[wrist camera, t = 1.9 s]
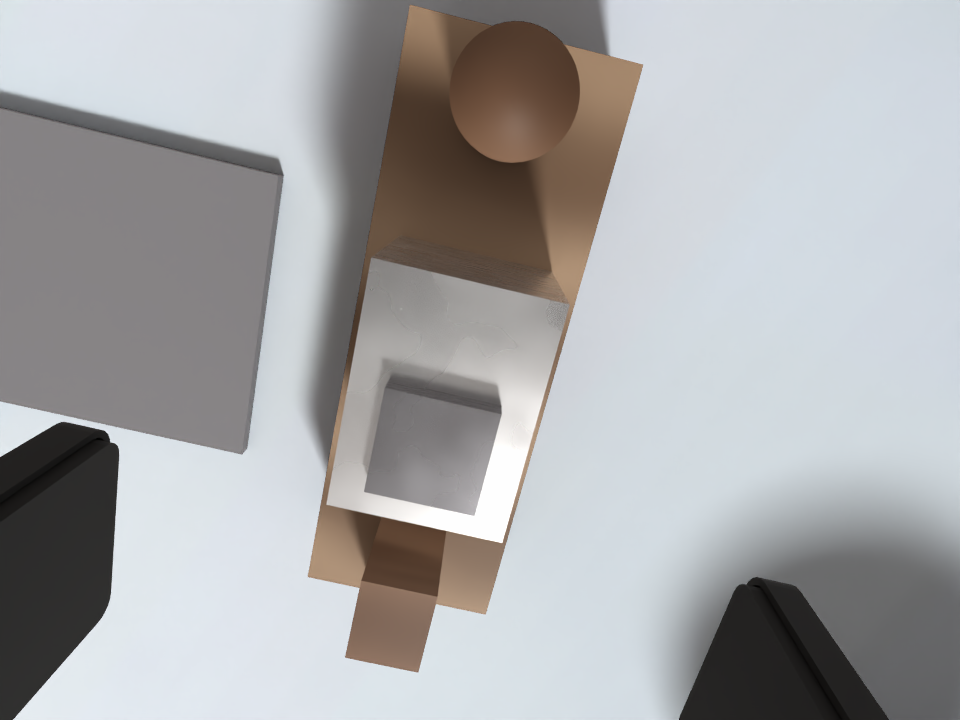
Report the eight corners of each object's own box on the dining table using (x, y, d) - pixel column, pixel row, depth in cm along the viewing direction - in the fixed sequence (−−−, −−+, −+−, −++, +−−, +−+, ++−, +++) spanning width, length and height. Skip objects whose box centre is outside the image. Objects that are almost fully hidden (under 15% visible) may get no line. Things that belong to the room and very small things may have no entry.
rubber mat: (247, 448, 28) (241, 454, 27) (-25, 388, 27) (-36, 393, 27) (283, 175, 24) (278, 176, 24) (-29, 100, 24) (-42, 98, 23)
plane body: (487, 540, 29) (483, 698, 20) (338, 508, 29) (272, 655, 20) (612, 85, 23) (682, 38, 14) (427, 38, 23) (387, -39, 14)
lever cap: (500, 461, 22) (502, 555, 17) (363, 431, 22) (320, 516, 17) (552, 271, 20) (572, 309, 15) (400, 235, 20) (366, 260, 15)
